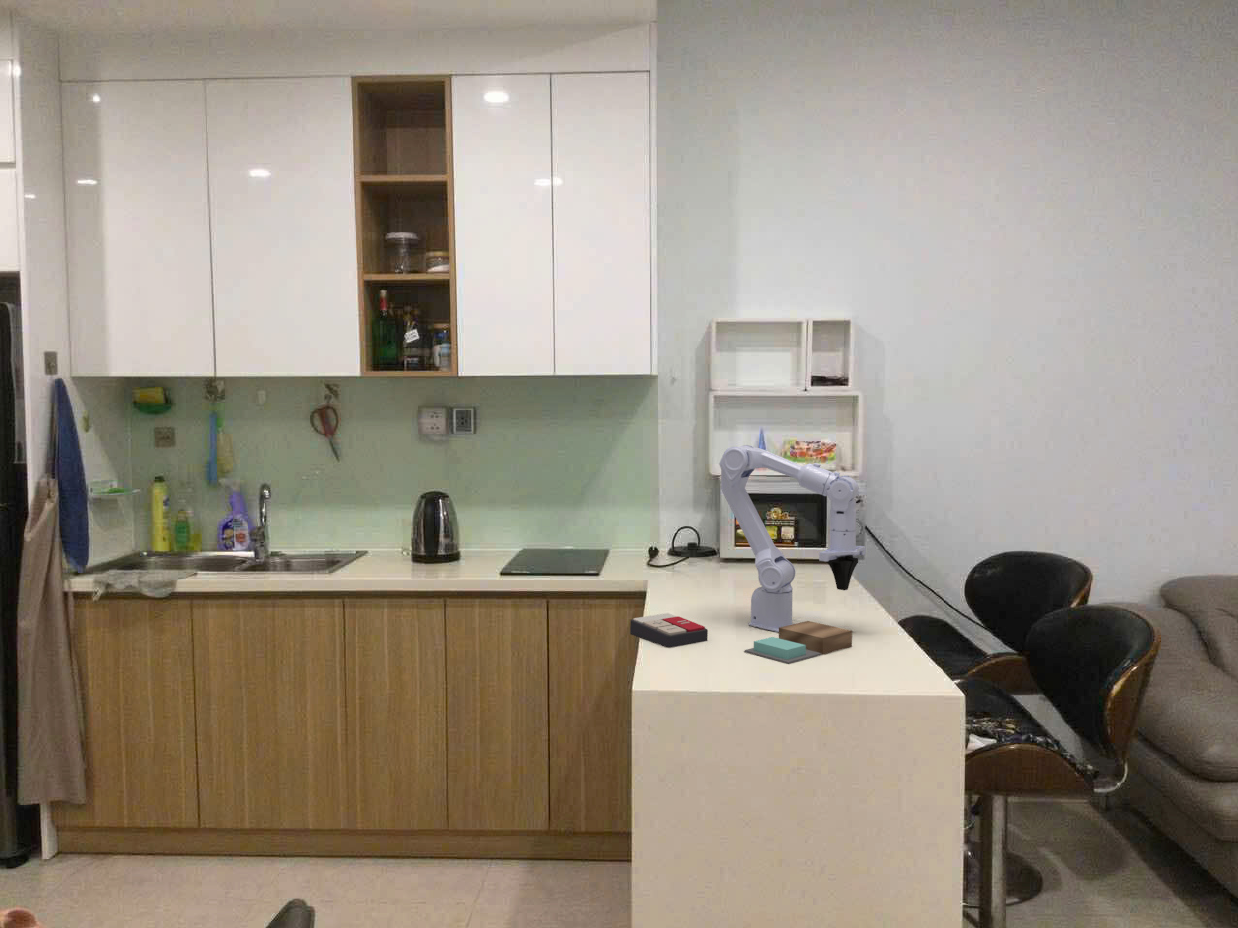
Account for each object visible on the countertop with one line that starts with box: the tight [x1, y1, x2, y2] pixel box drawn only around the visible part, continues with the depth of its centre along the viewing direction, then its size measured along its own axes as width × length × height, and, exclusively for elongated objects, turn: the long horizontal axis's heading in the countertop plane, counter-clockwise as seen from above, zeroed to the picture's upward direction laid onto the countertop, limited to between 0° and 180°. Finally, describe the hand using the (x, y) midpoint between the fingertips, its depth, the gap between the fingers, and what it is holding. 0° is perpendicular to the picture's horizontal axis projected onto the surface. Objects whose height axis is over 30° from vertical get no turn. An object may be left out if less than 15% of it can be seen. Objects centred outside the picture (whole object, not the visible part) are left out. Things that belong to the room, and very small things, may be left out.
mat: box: [743, 647, 822, 665], centre depth 193 cm, size 12×10×1 cm
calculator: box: [629, 612, 709, 649], centre depth 207 cm, size 11×4×15 cm
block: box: [753, 636, 806, 660], centre depth 192 cm, size 9×6×2 cm, turn 40°
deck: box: [778, 620, 853, 656], centre depth 199 cm, size 12×10×4 cm
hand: (842, 589), depth 208 cm, fingers closed
